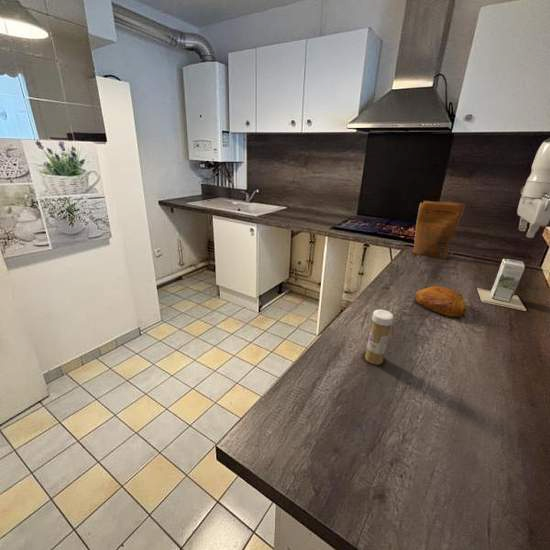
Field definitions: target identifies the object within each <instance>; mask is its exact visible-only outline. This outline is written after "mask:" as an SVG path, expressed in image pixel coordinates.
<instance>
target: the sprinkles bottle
mask: <svg viewBox="0 0 550 550" xmlns="http://www.w3.org/2000/svg"><path fill="white" fill-rule="evenodd" d="M371 319H372V322H371V327H370V331H369V334H368V335H369V336H368V340H367V345H366V351H365V354H364V359H365V360H366V361H367V362H368V363H369V364H372V365H377V366H378V365H381V364H383V363H384V357H385V353H386V350H387V344H388V341H389V337H390V331H391V327H392V325H393V322H394V315H393V314H392V312H390V311H388V310H385V309H375V310H374V311H373V313H372V317H371Z"/></svg>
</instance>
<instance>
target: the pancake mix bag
mask: <svg viewBox="0 0 550 550" xmlns="http://www.w3.org/2000/svg"><path fill="white" fill-rule="evenodd" d="M465 207H466V204H464V203H461V202H451V201H434V200H433V201H432V200H423V201H422V202H420V203H419V206H418V211H417V216H416V224H415V233H414V243H413V249H412V251H411V252H412V253H414V254H416V255H418V256H423V257H428V258H429V257H430V258H435V259H439V260H441V259H443V260H445V259H447V258H448V250H449V247H450V244H452V239H453V236H454V234H455V232H456V230H457V228H458V226H459V223H460V220H461V217H462V216H463V213H464V210H465Z"/></svg>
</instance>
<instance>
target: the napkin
mask: <svg viewBox="0 0 550 550" xmlns="http://www.w3.org/2000/svg"><path fill="white" fill-rule="evenodd" d="M476 290H477V293H478V296H479V299H480V301H481V303H485V304H490V305H494V306H500V307H504V308H510V309H514V310H519V311H523V312H527V309H526V307H525V305H524V304H523V302H522V301H521V299H520V297H519V296H518V295H517V294H514V295H513V297H512V300H511V302H510V303H508V302H503V301H499V300H495V299H492V298H491V290H492V289H491V290H490V289H486V288H479V287H477V288H476Z"/></svg>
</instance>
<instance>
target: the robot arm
mask: <svg viewBox="0 0 550 550" xmlns="http://www.w3.org/2000/svg"><path fill="white" fill-rule="evenodd" d="M520 195H521V196H520V199H519V201H518V207H517V211H516V212H517V213H516V214H517V216H519V217H520V218H519V226H518V231H520V232H526V234H525V237H527V238H528V239H529V238H530V239H533V238H534V237H535V235H536V233H537V232H538V230H539V229H540V227H546V226H547V225H548V224H549V222H550V137H548V138H547V139H545V140H543V142H542V143H541V145H540V146H539V147H538V149H537V151H536V153H535V157H534V158H533V162H532V164H531V171H530V174H529V176H528V177H527V179H526V181H525V184H524V186H522V187H521V190H520ZM528 223H529V228H527V227H528V226H527V225H528ZM527 229H528V230H527Z"/></svg>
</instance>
